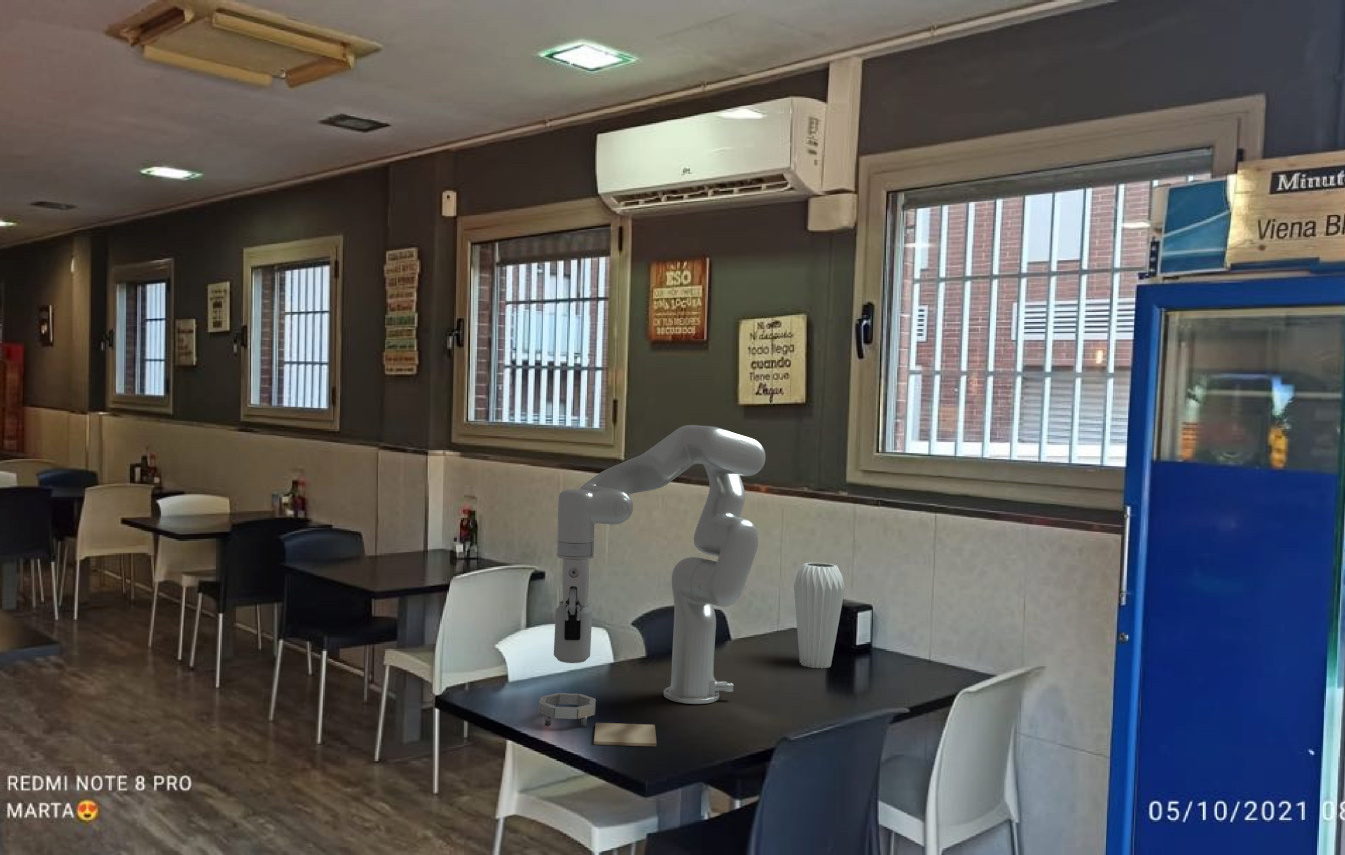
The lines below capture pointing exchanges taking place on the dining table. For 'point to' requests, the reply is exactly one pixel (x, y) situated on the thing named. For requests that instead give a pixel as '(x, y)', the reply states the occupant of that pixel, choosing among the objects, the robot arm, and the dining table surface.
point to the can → (572, 648)
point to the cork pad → (625, 734)
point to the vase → (818, 612)
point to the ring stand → (553, 711)
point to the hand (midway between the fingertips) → (573, 634)
